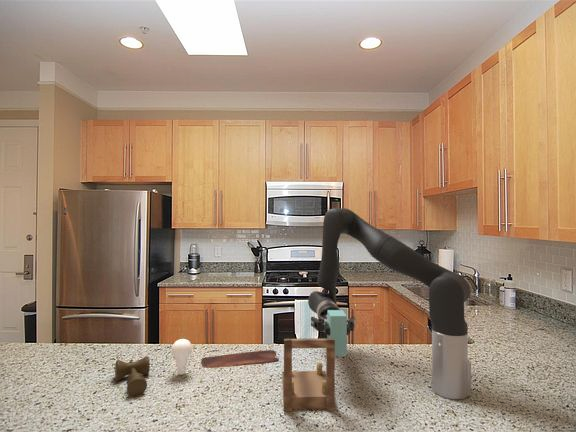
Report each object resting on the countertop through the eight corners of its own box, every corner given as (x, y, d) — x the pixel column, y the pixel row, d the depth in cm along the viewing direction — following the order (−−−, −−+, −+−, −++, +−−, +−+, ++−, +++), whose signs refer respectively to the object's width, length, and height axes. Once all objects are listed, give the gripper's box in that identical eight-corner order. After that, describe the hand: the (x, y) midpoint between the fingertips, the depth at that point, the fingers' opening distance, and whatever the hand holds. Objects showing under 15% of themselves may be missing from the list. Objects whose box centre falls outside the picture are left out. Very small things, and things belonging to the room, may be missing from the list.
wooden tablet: (200, 366, 111) (201, 351, 120) (200, 372, 111) (201, 357, 121) (280, 359, 117) (274, 345, 126) (280, 365, 117) (274, 351, 127)
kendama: (117, 403, 91) (113, 372, 108) (155, 395, 96) (146, 366, 113) (118, 380, 91) (114, 353, 108) (156, 374, 96) (146, 348, 113)
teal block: (342, 347, 100) (342, 310, 100) (346, 355, 94) (346, 316, 94) (327, 347, 100) (327, 310, 100) (330, 355, 94) (330, 316, 94)
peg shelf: (325, 380, 103) (325, 321, 103) (334, 410, 87) (334, 340, 87) (282, 381, 102) (282, 321, 103) (283, 411, 86) (284, 340, 86)
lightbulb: (185, 368, 111) (186, 334, 111) (195, 374, 107) (195, 339, 107) (167, 374, 107) (168, 339, 107) (177, 381, 102) (177, 344, 103)
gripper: (307, 302, 111) (312, 318, 94) (350, 302, 111) (364, 318, 94) (307, 325, 111) (312, 345, 94) (350, 325, 111) (363, 345, 94)
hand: (338, 331), depth 94 cm, fingers closed on teal block, 4 cm apart
